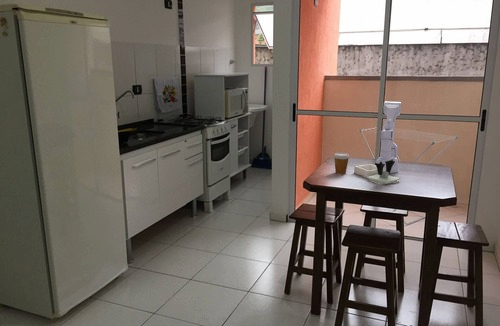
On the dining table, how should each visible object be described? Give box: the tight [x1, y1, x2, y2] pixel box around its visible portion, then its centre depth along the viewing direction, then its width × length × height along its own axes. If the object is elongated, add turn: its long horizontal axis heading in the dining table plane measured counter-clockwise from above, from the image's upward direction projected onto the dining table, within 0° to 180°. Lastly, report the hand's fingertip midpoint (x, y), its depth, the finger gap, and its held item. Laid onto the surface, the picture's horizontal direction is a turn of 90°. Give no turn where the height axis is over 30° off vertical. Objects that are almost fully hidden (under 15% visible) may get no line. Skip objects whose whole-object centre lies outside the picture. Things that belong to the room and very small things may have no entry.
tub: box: [353, 163, 386, 179], centre depth 254 cm, size 13×13×4 cm
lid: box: [366, 171, 401, 185], centre depth 240 cm, size 13×13×5 cm
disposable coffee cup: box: [333, 152, 350, 175], centre depth 257 cm, size 10×10×12 cm
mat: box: [368, 179, 400, 186], centre depth 241 cm, size 14×10×1 cm
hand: (384, 173), depth 240 cm, fingers open, 7 cm apart
